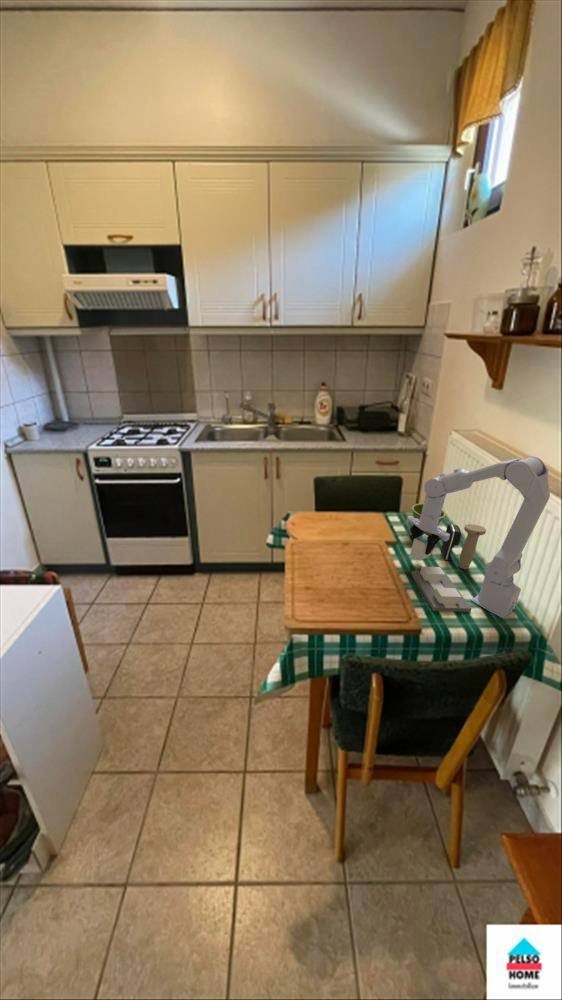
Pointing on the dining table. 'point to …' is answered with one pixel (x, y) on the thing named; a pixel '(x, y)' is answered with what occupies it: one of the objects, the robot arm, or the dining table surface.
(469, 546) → the handle
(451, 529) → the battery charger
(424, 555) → the module
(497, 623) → the dining table surface
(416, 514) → the plant pot
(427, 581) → the board
